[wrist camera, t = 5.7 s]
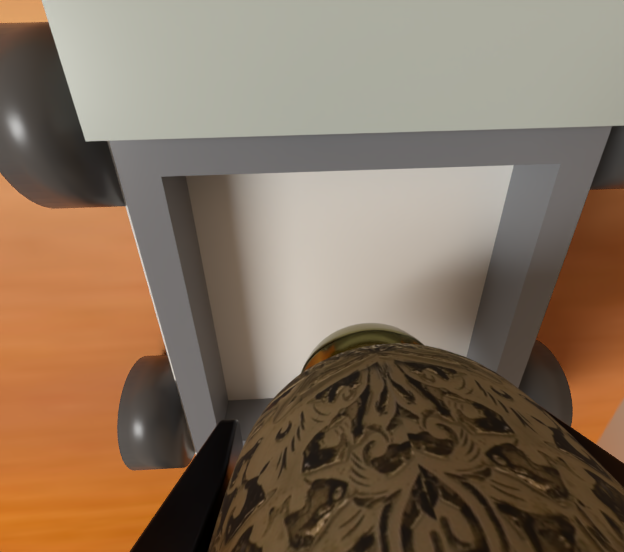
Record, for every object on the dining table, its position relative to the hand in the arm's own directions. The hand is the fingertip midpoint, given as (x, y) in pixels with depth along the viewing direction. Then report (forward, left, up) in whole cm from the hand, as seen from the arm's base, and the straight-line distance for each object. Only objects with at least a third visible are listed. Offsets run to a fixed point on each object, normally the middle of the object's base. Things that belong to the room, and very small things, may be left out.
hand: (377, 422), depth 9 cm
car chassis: (0, 0, -8) cm, 8 cm away
